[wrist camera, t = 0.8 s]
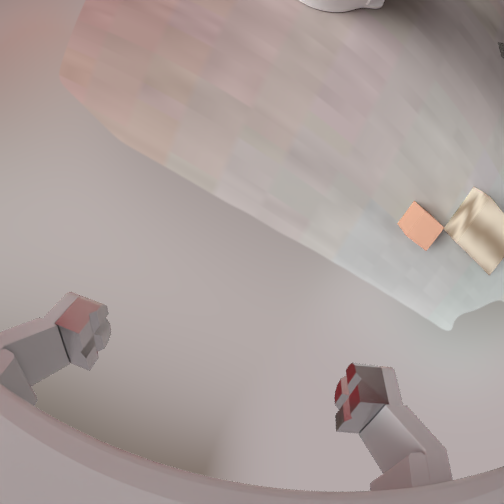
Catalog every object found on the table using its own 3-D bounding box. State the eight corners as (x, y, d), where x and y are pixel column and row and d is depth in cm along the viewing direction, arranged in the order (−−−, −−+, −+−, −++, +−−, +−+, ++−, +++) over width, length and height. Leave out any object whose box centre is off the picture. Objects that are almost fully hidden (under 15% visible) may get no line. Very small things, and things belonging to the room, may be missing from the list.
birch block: (473, 186, 42) (490, 196, 37) (503, 222, 44) (519, 235, 38) (442, 228, 47) (456, 242, 41) (475, 259, 48) (489, 275, 43)
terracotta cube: (414, 200, 45) (424, 211, 41) (432, 216, 46) (444, 227, 42) (397, 223, 48) (406, 235, 43) (416, 237, 48) (426, 251, 44)
